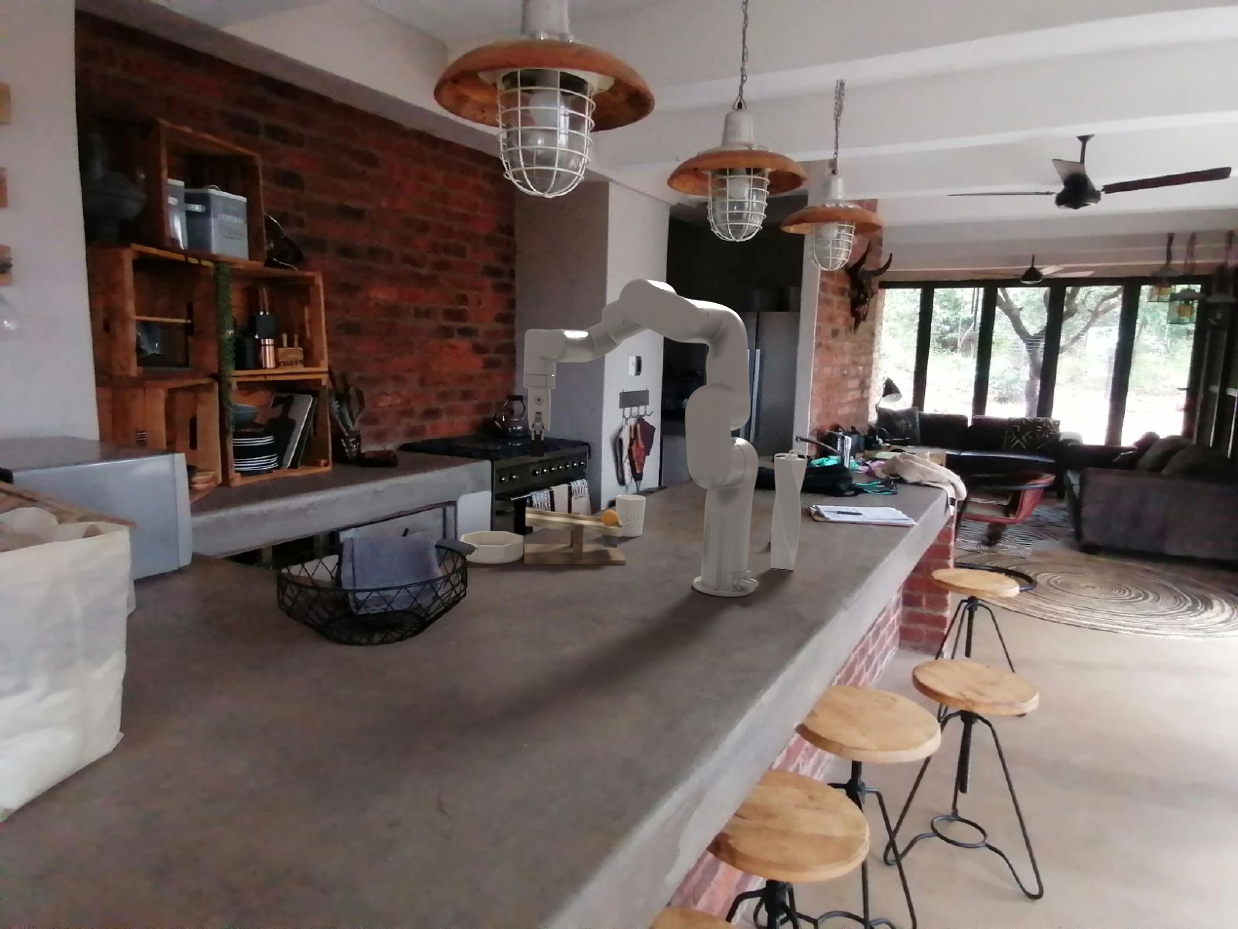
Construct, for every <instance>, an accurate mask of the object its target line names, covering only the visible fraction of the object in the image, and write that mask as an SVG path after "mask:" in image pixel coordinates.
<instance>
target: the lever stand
mask: <svg viewBox="0 0 1238 929" xmlns="http://www.w3.org/2000/svg"><path fill="white" fill-rule="evenodd" d="M570 514H575V515H581V514H580V512H578V511H577V512H575V511H574V512H573V511H572V512H570ZM569 533H570V535H569V536H570V537H569V543H568V544H565V543H564V544H563V543H557V544H556V543H524V544H523V557H524V560H523V561H524V564H525V565H527V564H528V565H538V564H539V565H623V566H625V565H627V559H626V557H625V555H624V552H623V551H622V548H621V545H620V544H617V548H611V547H604V545H603V544H584V532H583V524H580V523H574V531H569Z"/></svg>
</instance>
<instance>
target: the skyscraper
mask: <svg viewBox="0 0 1238 929" xmlns="http://www.w3.org/2000/svg"><path fill="white" fill-rule="evenodd" d="M793 452H797V453H801V454H802V455H803V456H804V458H800V457H798V456H799V455H798V454H796V453H795V454H794V453H793ZM778 456H779V457H778ZM773 459H774V460H773V461H774V462H773V463H774V483H775V496H774V497H775V498H774V502H773V509H772V517H771V528H770V529H771V531H770V537H771V539H770V569H771V568H780V569H790V570H794V571H795V568H794V567H795V563H796V558H797V552H798V547H799V542H800V541H799V540H800V535H801V534H800V533H801V532H800V531H801V522H802V521H801V520H802V510H801V509H802V508H801V507H802V506H801V496H800V495H801V490H802V487H803V484H804V483H803V482H804V480H805V474H806V470H807V465H808V464H807V463H808V457H807V455H806V452H805V451H803V450H801V449H797V448H793V449H790V450H789V451H788V453H786V452H785V453H784V452H783V453H782V452H780V453H775V454H774V457H773Z"/></svg>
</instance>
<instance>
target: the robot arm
mask: <svg viewBox="0 0 1238 929" xmlns="http://www.w3.org/2000/svg"><path fill="white" fill-rule="evenodd" d="M647 330H651V332H654V333H657V334H659V335H661V336H663V337H665V338H667V339H669V340H672V341H675V342H679V343H690V344H705V345H707V346H708V353H707V355H706V361H705V362H706V363H705V372H706V384H704V385H702V386H700V387H698V388H697V389H696V390H694V391H693V392H692V393H691V395H690V396H689V397H688V398H689V399H688V400H687V403H686V406H685V412H684V413H685V415H684V416H685V417H684V423H685V443H686V445H685V447H686V448H685V449H686V462H687V463H686V464H687V468H688V471H689V474H690V477H691V479H692V480H693V482H694V483H695V484H696V485H697V486H698V487H701V488H703V489H705V490H707V491H706V497H705V505H704V517H703V518H704V521H703V533H702V534H703V536H702V537H703V538H702V552H701V553H702V556H701V571H700V576H697V577H695V578H694V579H693V581H692V586H693V588H694V589H695V590H697V591H699V592H701V593H703V594H708V595H709V596H710V595H711V596H717V597H725V598H726V597H728V598H729V597H730V598H735V597H744V596H748V595H751V594H752V593H753V592H755V590H756V588H758V586H759V584H760V583H759V581H758V580H757V579H753V578H752V570H749V569H748V568H749V565H748V564H749V554H750V553H749V552H750V537H751V536H750V535H751V524H752V523H751V522H752V521H751V520H752V512H753V511H752V510H753V498H754V491H755V486H756V481H757V477H758V473H759V472H758V471H759V455H758V453H757V451H756V449H755V447H754V446H753V444H752V443H750V441H748V440H746V439H744V438H742V437H741V438H740V437H737V436H734V437H733V436H732V431H736V430H738V429H741V428H743V427H744V426H745V425H746V424H747V422H748V421H749V419H750V416H751V392H750V372H749V370H750V369H749V351H748V350H749V349H748V348H749V343H748V342H749V341H748V333H747V329H746V325H745V323H744V322H743V320H742V318H741V317H740V316H739V314H737V312H735V311H734V310H732V309H731V308H729V307H727V306H725V305H723V304H720V303H719V304H718V303H716V302H711V301H708V300H707V301H706V300H697V299H691V298H686V297H684V296H682V295H681V296H680V295H678V294H677V292H676V291H675V289H674V288H673V287H672V286H671V285H669V284H668V283H666V282H662V281H659V280H658V281H657V280H652V279H649V278H648V279H647V278H636V279H633V280H630V281H628V283H626V284H625V285H624V286H623V287H622V289H621V291H620V293H619V296H618V299H616V300H613V301H612V302H610V303H608V304H606V305H605V306H604V307H603V309H602V311H601V321H600V322H598V323H597V324H595V325H592V326H590V327H587V328H585V329H581V330H580V329H567V328H566V329H565V328H556V329H555V328H554V329H543V328H540V329H539V328H538V329H537V328H530V329H527V331H525V335H524V350H523V351H524V352H523V353H524V354H523V356H524V357H523V381H522V382H523V383H522V384H523V387H522V388H523V389H527V390H528V391H527V392H528V394H527V396H528V397H527V417H528V428H529V430H530V431H531V434H530V445H529V446H530V451H529V454H530V457H531V458H544V457H545V440H546V439H545V433H544V432H545V430H546V431H547V432H549V431H550V429H551V412H552V411H551V410H552V409H551V408H552V396H551V395H552V392H551V391H552V390H555V389H556V373H557V363H587V362H591V361H593V360H594V361H595V359H599V358H600V357H603V356H605V355H607V354H609V353H611V352H613V351H614V350H616V349H618V347H619V346H620V345H621V344H622V343H623V341H626V340H628V339H630V338H632V337H635V336H636V335H638V334H640V333H642V332H645V331H647Z"/></svg>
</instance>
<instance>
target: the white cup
mask: <svg viewBox="0 0 1238 929" xmlns="http://www.w3.org/2000/svg"><path fill="white" fill-rule="evenodd" d="M646 498H647V497H646V496H645V495H644V496H643V495H640V494H630V493H629V494H626V493H625V494H618V495H615V512H616V513H617V514H618V517H619V519H620V521H621V523H622V525H623V526H622V535H621V537H626V538H627V537H629V538H630V537H632V538H635V537H641V536H642V535H643V526H644V521H645V520H644V519H645V510H646V509H645V508H646Z"/></svg>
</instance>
